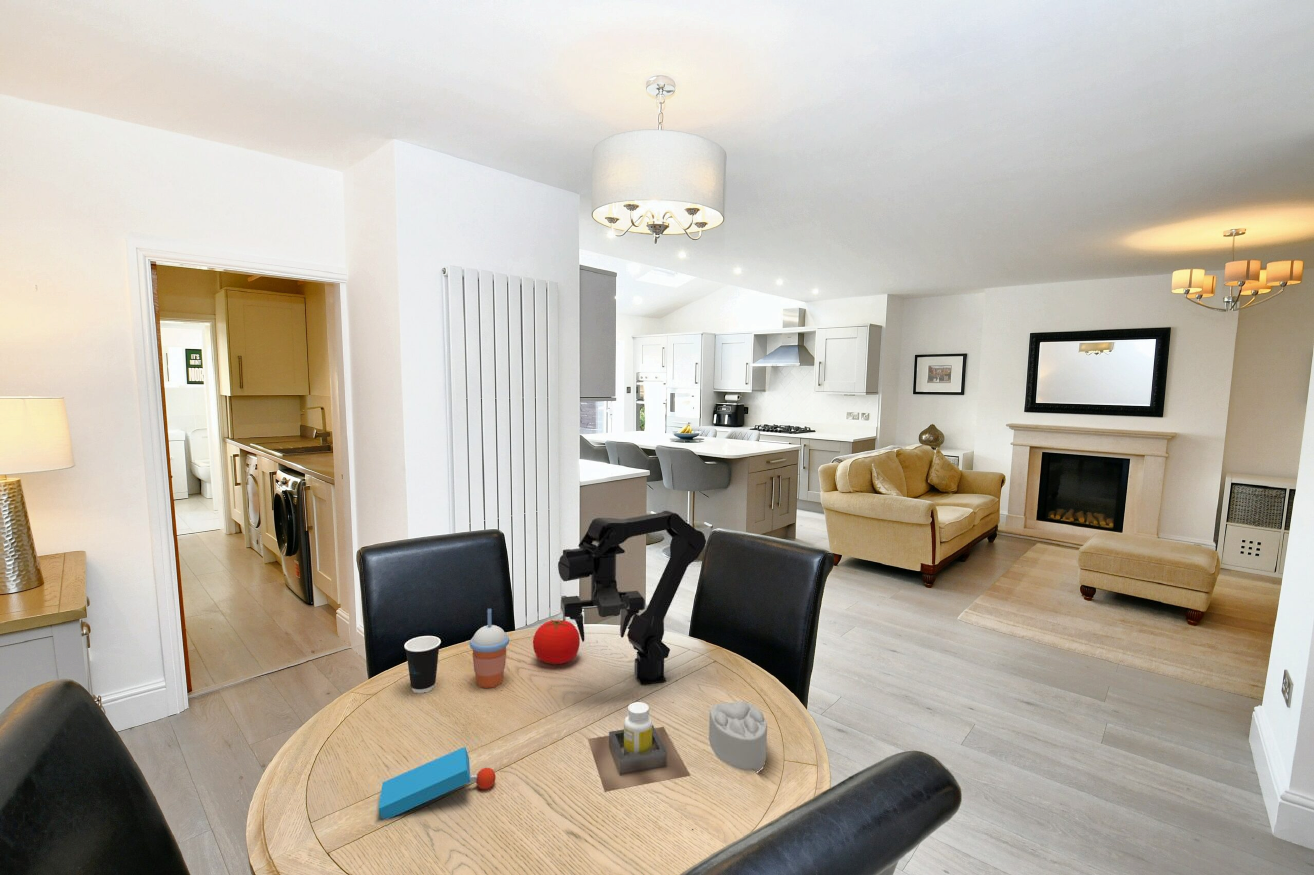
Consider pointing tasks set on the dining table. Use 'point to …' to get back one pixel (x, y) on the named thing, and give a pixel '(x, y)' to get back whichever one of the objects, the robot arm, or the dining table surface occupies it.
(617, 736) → the metal collar
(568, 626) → the tomato
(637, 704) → the supplement bottle
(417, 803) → the lever
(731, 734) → the lumpy-topped squat cylinder
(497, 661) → the cup with straw
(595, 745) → the walnut board
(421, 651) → the dixie cup
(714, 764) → the dining table surface
